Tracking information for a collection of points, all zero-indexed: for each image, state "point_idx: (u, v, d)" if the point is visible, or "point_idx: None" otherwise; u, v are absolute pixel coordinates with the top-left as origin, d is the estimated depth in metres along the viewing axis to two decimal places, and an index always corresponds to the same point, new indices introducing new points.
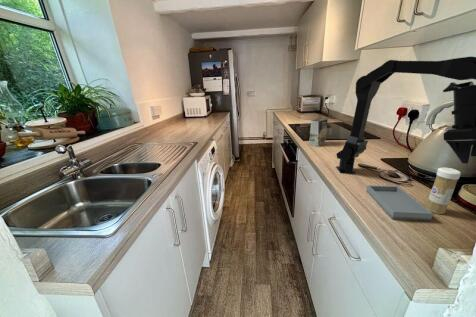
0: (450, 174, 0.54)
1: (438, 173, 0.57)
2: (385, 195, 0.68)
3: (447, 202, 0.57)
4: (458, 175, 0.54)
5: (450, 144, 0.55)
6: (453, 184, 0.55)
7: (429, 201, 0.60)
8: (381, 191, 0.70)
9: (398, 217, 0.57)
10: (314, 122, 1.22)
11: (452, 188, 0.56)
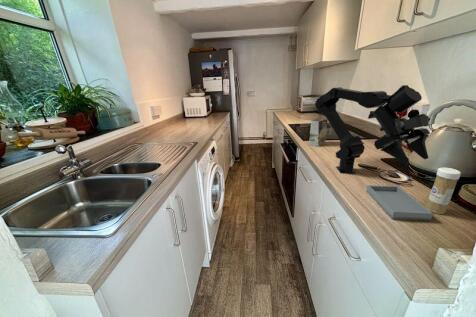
0: (450, 174, 0.54)
1: (438, 173, 0.57)
2: (385, 195, 0.68)
3: (447, 202, 0.57)
4: (458, 175, 0.54)
5: (386, 151, 0.65)
6: (453, 184, 0.55)
7: (429, 201, 0.60)
8: (381, 191, 0.70)
9: (398, 217, 0.57)
10: (314, 122, 1.22)
11: (452, 188, 0.56)
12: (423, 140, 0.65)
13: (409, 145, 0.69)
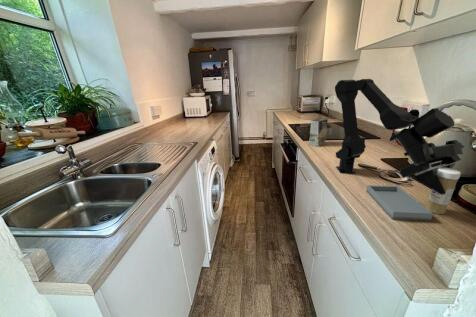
0: (450, 174, 0.54)
1: (438, 173, 0.57)
2: (385, 195, 0.68)
3: (447, 202, 0.57)
4: (458, 175, 0.54)
5: (418, 179, 0.60)
6: (453, 184, 0.55)
7: (429, 201, 0.60)
8: (381, 191, 0.70)
9: (398, 217, 0.57)
10: (314, 122, 1.22)
11: (452, 188, 0.56)
12: None
13: None
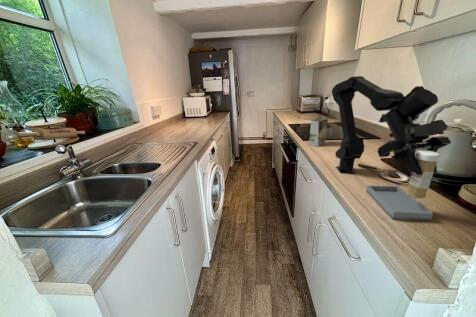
0: (426, 155, 0.53)
1: (416, 155, 0.56)
2: (385, 195, 0.68)
3: (425, 186, 0.55)
4: (434, 156, 0.52)
5: (397, 159, 0.59)
6: (430, 166, 0.53)
7: (409, 185, 0.59)
8: (381, 191, 0.70)
9: (398, 217, 0.57)
10: (314, 122, 1.22)
11: (429, 171, 0.54)
12: None
13: None
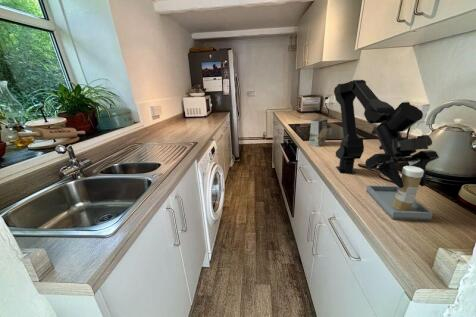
0: (410, 171, 0.55)
1: (402, 170, 0.57)
2: (385, 195, 0.68)
3: (409, 200, 0.57)
4: (418, 173, 0.54)
5: (382, 172, 0.61)
6: (414, 182, 0.55)
7: (395, 198, 0.61)
8: (381, 191, 0.70)
9: (398, 217, 0.57)
10: (314, 122, 1.22)
11: (413, 186, 0.56)
12: (423, 164, 0.57)
13: None
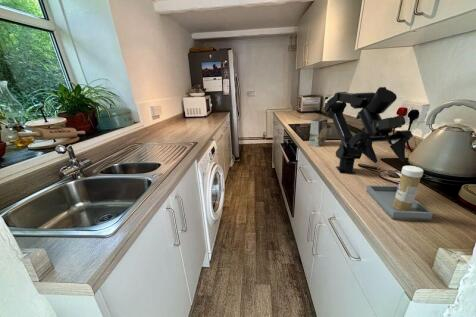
0: (409, 171, 0.55)
1: None
2: (385, 195, 0.68)
3: (409, 200, 0.57)
4: (417, 173, 0.54)
5: (359, 150, 0.68)
6: (413, 182, 0.55)
7: (395, 198, 0.61)
8: (381, 191, 0.70)
9: (398, 217, 0.57)
10: (314, 122, 1.22)
11: (413, 186, 0.56)
12: (402, 142, 0.65)
13: (391, 146, 0.69)
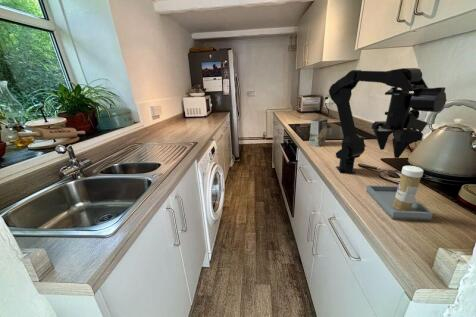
0: (409, 171, 0.55)
1: (402, 170, 0.58)
2: (385, 195, 0.68)
3: (409, 200, 0.57)
4: (417, 173, 0.54)
5: (396, 143, 0.64)
6: (414, 182, 0.55)
7: (395, 198, 0.61)
8: (381, 191, 0.70)
9: (398, 217, 0.57)
10: (314, 122, 1.22)
11: (413, 186, 0.56)
12: None
13: (378, 133, 0.74)
